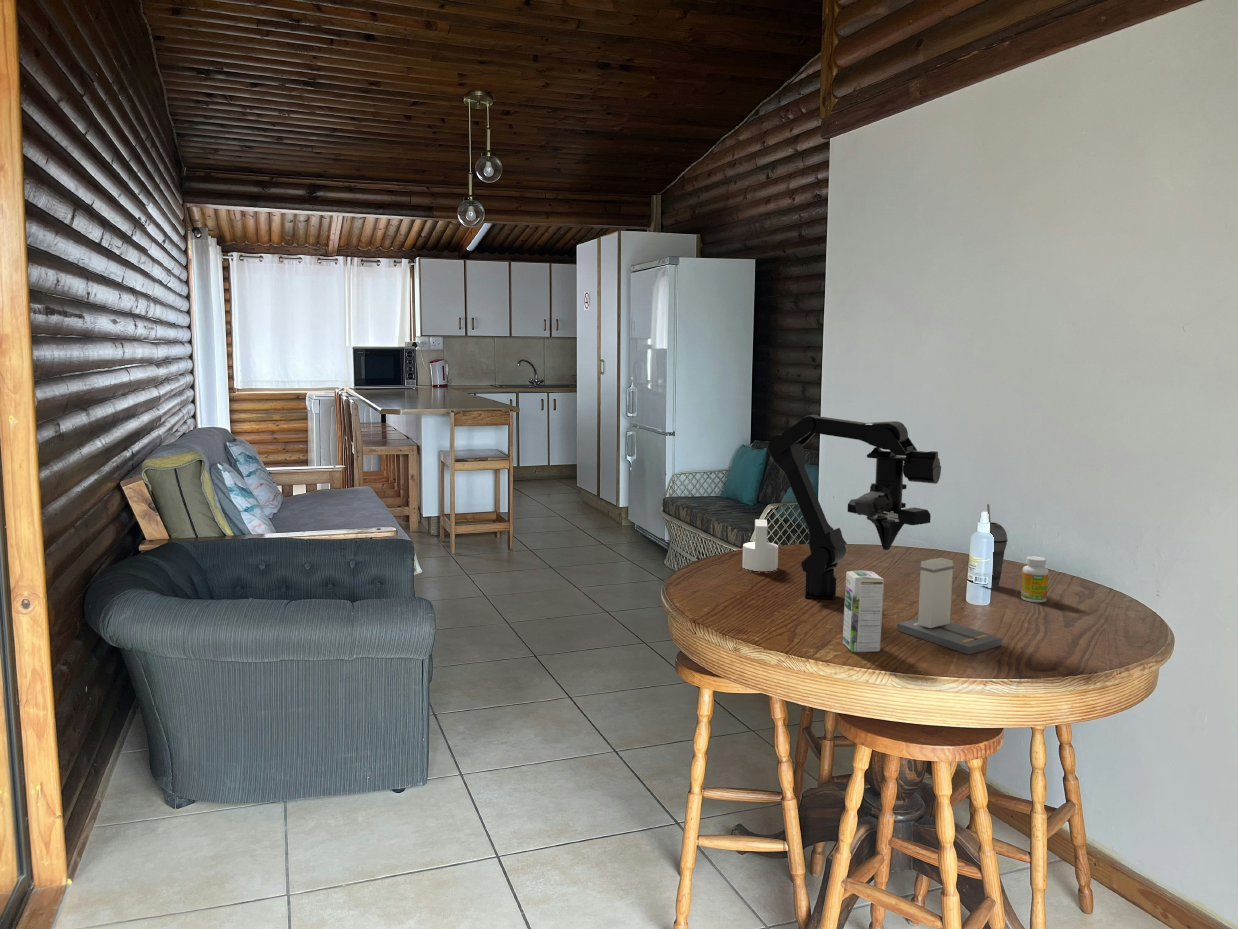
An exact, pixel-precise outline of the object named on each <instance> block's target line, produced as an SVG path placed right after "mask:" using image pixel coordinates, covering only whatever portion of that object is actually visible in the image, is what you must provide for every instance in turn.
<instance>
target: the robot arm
mask: <svg viewBox="0 0 1238 929" xmlns="http://www.w3.org/2000/svg"><path fill="white" fill-rule="evenodd" d="M815 434H818V435H825V436H831V437H838V438H844V439H851V440H858V441H861V442H863V443H865V444H868V445H870V446H873V447H874V448H873V449H872V450H871V451H870V452H869V453H868V454H866V458H868V459H876V460H875V461H876V462H875V483H871V484H870V488H869V491H868V492H867V493H864V494H862V495H860V496H859V497H858V498H857V497H856V498H854V499H853V498H852V499H850V500H849V502H848V503H847V513H850V514H857V515H858V516H866V519H867V520H868V521H870V522H871V523H872V524H873V525H874V526H875V529H876V532H877V534H878V537H879V540H880V544H881V546H882V549H883V550H884V551H889V550H890V548H891V547H892V546H893V543H894V541H895V539H896V538H897V535H898V534H899V533H900V531H901V529H902V528H903V526H904V525H909V526H919V525H925V524H929V523H930V524H931V512H930V511H929V510H928V509H925V508H920V507H908V508H906V507H907V506H906V505H907V503H905V502H903V490H907V485H908V484H906V483H903V482H904V478H905V479H907V481H908V482H913V483H923V484H924V483H925V484H933V485H934V484H935V485H936V484H938V483H939V480H940V478H941V475H942V474H941V473H942V465H941V461H940V458H939V452H938V451H937V450H936V451H935V450H934V451H933V450H931V451H922V450H921V451H920V450H918V449H917V448H916V446H915V445H914V443H913V442H912V440H911V439H910V437H909V432H908V429H907V427H906V425H904V423H902V422H901V421H877V422H876V421H875V422H862V421H854V420H848V419H840V418H833V417H826V416H820V415H818V414H811V415H806V416H803V417H802V418H801V419H800V420H799V421H798V422H797V423H795V424H794V425H792V426H790V427H789V428H788V429H786V430H785V431H784V432H782V433H781V434H776V435H773V436H772V437H771V438H770V439H769V440H768V443H767V452H768V453H769V455H770V457H771V459H772V461H773V462H774V463H775V465H776V466H777V467H778V468H779V469H780V470H781V471H782V472H783V473H784V475H785V476H786V480H787V482H788V484H789V486H790V489H791V491H792V494H793V497H794V498H795V501H796V503H797V506H798V508H799V511H800V513H801V516H802V517H803V520H804V523H805V525H806V528H807V529H808V530H807V531H808V547H809V552H810V555H808V556H807V557H806V558H805V559H804V560H802V561H801V562H800V565H801V568H802V571H803V573H805V588H804V598H806V599H820V600H834V598H835V596H836V594H837V575H836V574H835V568H837V566H838V564H839V562H840V561H842V560H843V559H844V557H845V556H846V553H847V549H846V545H847V544H848V543H847V542H846V541H845V539H844V537H843V534H842V530H841V528H840V527H838V528H835V529H834V528H833V527H832V526H831V525H830V524H829V523H828V520H827V518H826V515H825V513H824V511H823V508H822V506H821V503H820V502H819V498H818V496H817V494H816V491H815V489H814V486H813V485H812V484H813V483H812V482H811V480H810V477H809V474H808V472H807V469H806V466H805V450H804V445H806V443H807V442H809V441H811V438H813V437H814V435H815ZM887 450H888V451H887Z"/></svg>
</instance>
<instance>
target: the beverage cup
mask: <svg viewBox="0 0 1238 929" xmlns="http://www.w3.org/2000/svg"><path fill="white" fill-rule="evenodd" d="M986 506H987V515H988V514H989V522H990V533H991V534H992V535H993V537H994V552H993V575H992V587H993V588H992V589H997V588H999V585H1000V581H1001V577H1002V568H1003V563H1004V557H1005V550H1006V548H1007V543H1008V542H1009V541H1008V536H1007V535H1008V534H1007V532H1006V530H1005V528H1004V527H1003V526H1002V525H1001V524H999V523H998V522H992V521H991V512H990V510H991V509H990V504H989V503H986Z"/></svg>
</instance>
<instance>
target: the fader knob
mask: <svg viewBox="0 0 1238 929" xmlns="http://www.w3.org/2000/svg"><path fill="white" fill-rule="evenodd" d="M919 568H920V575H919V576H920V577H919V578H920V580H919V596H918V598H919V599H918V616H917V617H918V624H919V625H922V626H925V627H928V628H933V627H937V626H941V625H945V624H949V623H950V622H951V610H952V609H951V608H952V607H951V606H952V590H953V571H954V560H951V559H948V558H943V557H937V558H936V557H935V558H931V559H927V560H926V559H925V560H921V561H920V567H919Z"/></svg>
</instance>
